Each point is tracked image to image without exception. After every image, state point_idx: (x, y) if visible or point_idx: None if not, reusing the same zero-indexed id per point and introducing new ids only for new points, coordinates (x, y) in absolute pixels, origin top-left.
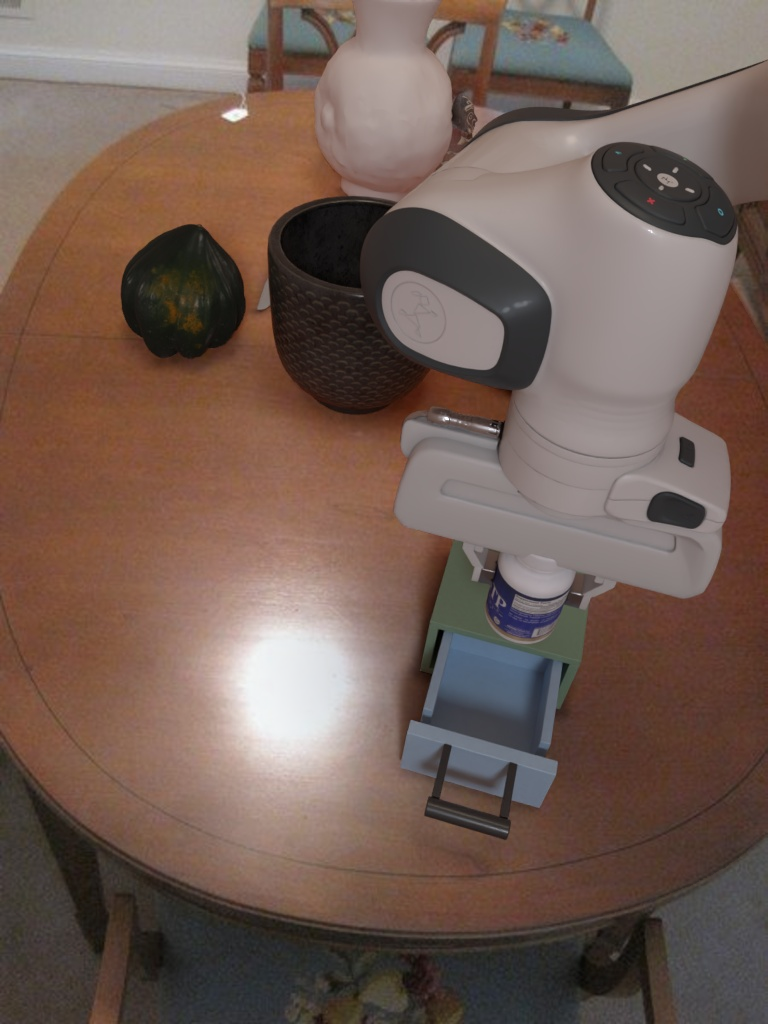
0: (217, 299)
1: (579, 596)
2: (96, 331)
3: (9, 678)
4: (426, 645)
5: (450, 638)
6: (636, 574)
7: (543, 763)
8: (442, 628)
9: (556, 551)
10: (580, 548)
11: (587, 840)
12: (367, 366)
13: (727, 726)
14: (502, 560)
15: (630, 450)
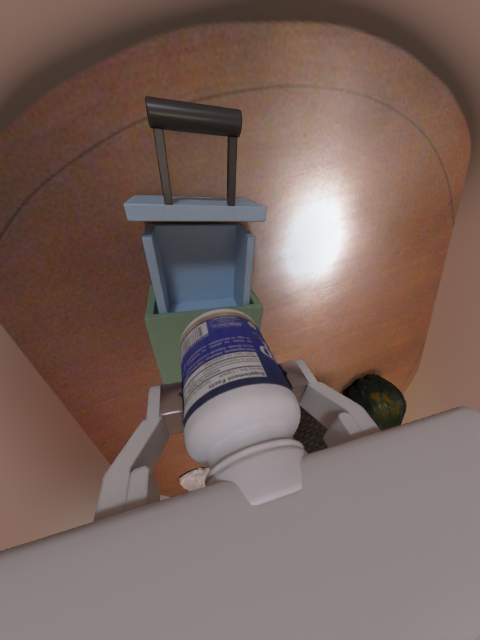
0: (369, 411)
1: (165, 410)
2: (390, 372)
3: (461, 192)
4: (252, 291)
5: (244, 300)
6: (10, 637)
7: (140, 213)
8: (252, 305)
9: (264, 546)
10: (218, 635)
11: (82, 179)
12: (313, 421)
13: (25, 315)
14: (300, 414)
15: None
